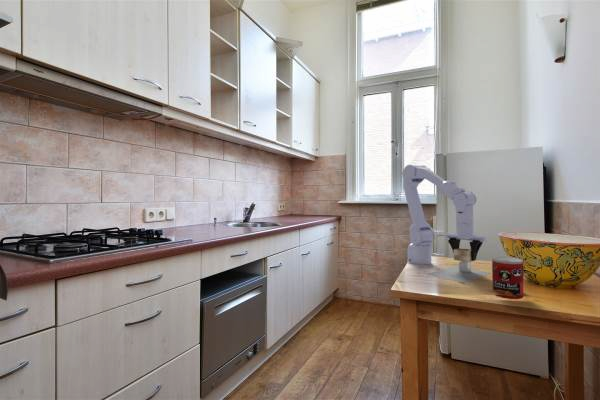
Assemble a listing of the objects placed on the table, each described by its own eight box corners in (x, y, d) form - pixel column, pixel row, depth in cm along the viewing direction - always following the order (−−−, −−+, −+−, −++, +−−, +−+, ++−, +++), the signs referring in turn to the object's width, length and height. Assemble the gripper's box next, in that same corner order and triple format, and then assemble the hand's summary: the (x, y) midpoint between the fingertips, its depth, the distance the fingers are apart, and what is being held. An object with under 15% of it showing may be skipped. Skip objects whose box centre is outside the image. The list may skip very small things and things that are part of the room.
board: (426, 277, 110) (426, 274, 110) (453, 268, 122) (453, 266, 122) (465, 286, 99) (464, 282, 99) (491, 276, 111) (491, 272, 111)
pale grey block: (459, 271, 114) (459, 262, 114) (463, 269, 116) (462, 260, 115) (467, 272, 111) (467, 263, 111) (471, 271, 113) (471, 262, 113)
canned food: (489, 295, 90) (489, 259, 90) (495, 289, 95) (495, 255, 95) (520, 301, 84) (520, 263, 84) (525, 294, 90) (525, 258, 90)
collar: (453, 259, 114) (453, 249, 114) (461, 257, 117) (461, 247, 117) (469, 262, 109) (469, 251, 109) (476, 260, 113) (476, 249, 113)
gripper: (440, 222, 117) (441, 257, 117) (480, 225, 105) (480, 263, 105) (449, 221, 121) (450, 254, 121) (489, 224, 109) (489, 260, 109)
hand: (465, 258), depth 113 cm, fingers closed on collar, 6 cm apart
